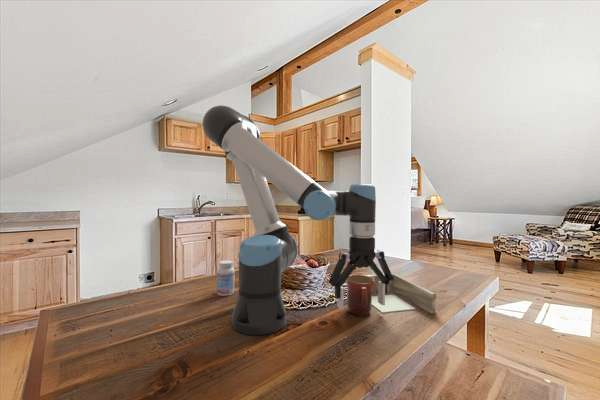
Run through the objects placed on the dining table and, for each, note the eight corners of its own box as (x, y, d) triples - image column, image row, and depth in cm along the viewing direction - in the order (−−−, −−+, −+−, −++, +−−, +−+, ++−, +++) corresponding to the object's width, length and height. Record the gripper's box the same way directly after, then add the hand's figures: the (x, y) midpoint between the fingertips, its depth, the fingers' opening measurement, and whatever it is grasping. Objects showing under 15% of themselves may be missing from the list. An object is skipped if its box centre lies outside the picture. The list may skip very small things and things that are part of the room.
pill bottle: (213, 295, 96) (213, 263, 96) (222, 289, 102) (222, 259, 102) (229, 297, 95) (229, 264, 95) (237, 291, 101) (237, 260, 100)
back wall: (431, 313, 85) (431, 294, 85) (391, 289, 106) (391, 273, 105) (435, 312, 86) (435, 293, 86) (394, 289, 106) (395, 273, 106)
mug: (342, 305, 90) (343, 274, 90) (369, 306, 90) (370, 274, 89) (348, 323, 78) (349, 287, 78) (379, 324, 78) (380, 288, 77)
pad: (382, 313, 85) (382, 312, 85) (363, 298, 96) (363, 297, 96) (415, 309, 88) (415, 308, 88) (393, 295, 100) (393, 294, 100)
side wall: (359, 293, 101) (360, 276, 101) (357, 291, 102) (358, 275, 102) (393, 290, 105) (393, 274, 104) (391, 288, 106) (391, 273, 106)
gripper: (327, 239, 76) (326, 316, 77) (406, 236, 83) (404, 306, 83) (318, 235, 83) (318, 305, 84) (391, 232, 90) (390, 297, 91)
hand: (361, 306), depth 84 cm, fingers open, 13 cm apart
